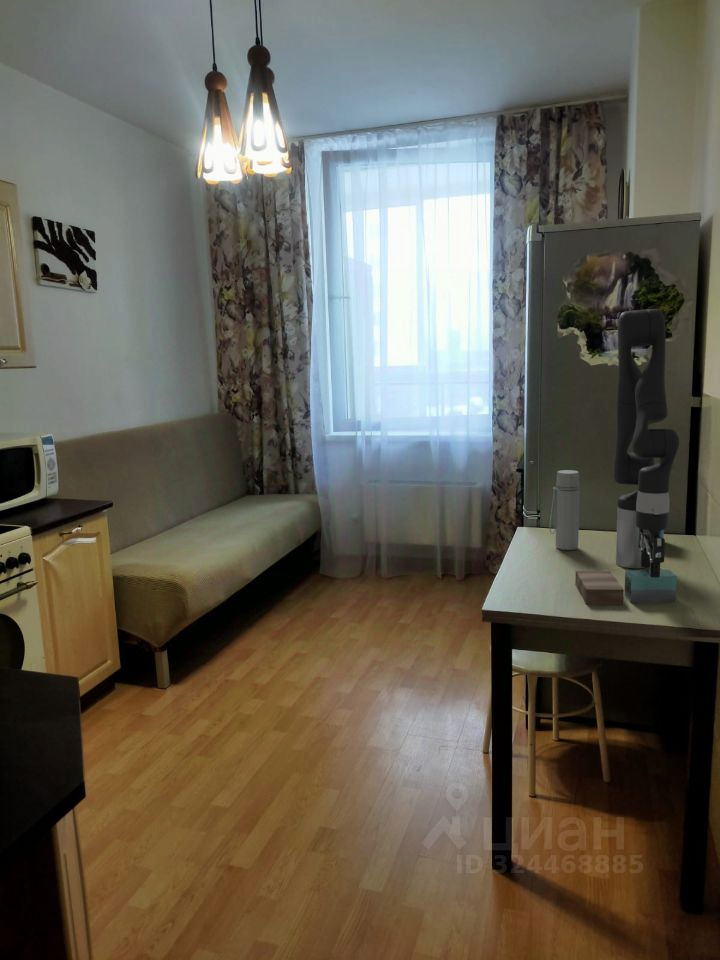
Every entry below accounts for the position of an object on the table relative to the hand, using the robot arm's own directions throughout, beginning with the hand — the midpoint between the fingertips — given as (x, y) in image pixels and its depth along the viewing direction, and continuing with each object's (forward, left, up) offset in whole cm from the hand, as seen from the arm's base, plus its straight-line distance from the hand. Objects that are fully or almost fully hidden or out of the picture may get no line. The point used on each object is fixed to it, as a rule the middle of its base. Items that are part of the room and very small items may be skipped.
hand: (649, 571), depth 172 cm
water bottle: (-46, -14, -8) cm, 49 cm away
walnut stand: (-3, -12, -7) cm, 14 cm away
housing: (0, 0, -8) cm, 7 cm away
